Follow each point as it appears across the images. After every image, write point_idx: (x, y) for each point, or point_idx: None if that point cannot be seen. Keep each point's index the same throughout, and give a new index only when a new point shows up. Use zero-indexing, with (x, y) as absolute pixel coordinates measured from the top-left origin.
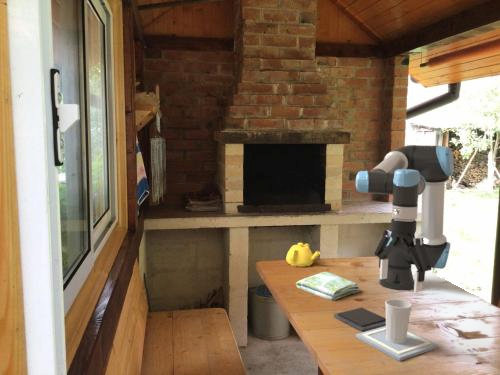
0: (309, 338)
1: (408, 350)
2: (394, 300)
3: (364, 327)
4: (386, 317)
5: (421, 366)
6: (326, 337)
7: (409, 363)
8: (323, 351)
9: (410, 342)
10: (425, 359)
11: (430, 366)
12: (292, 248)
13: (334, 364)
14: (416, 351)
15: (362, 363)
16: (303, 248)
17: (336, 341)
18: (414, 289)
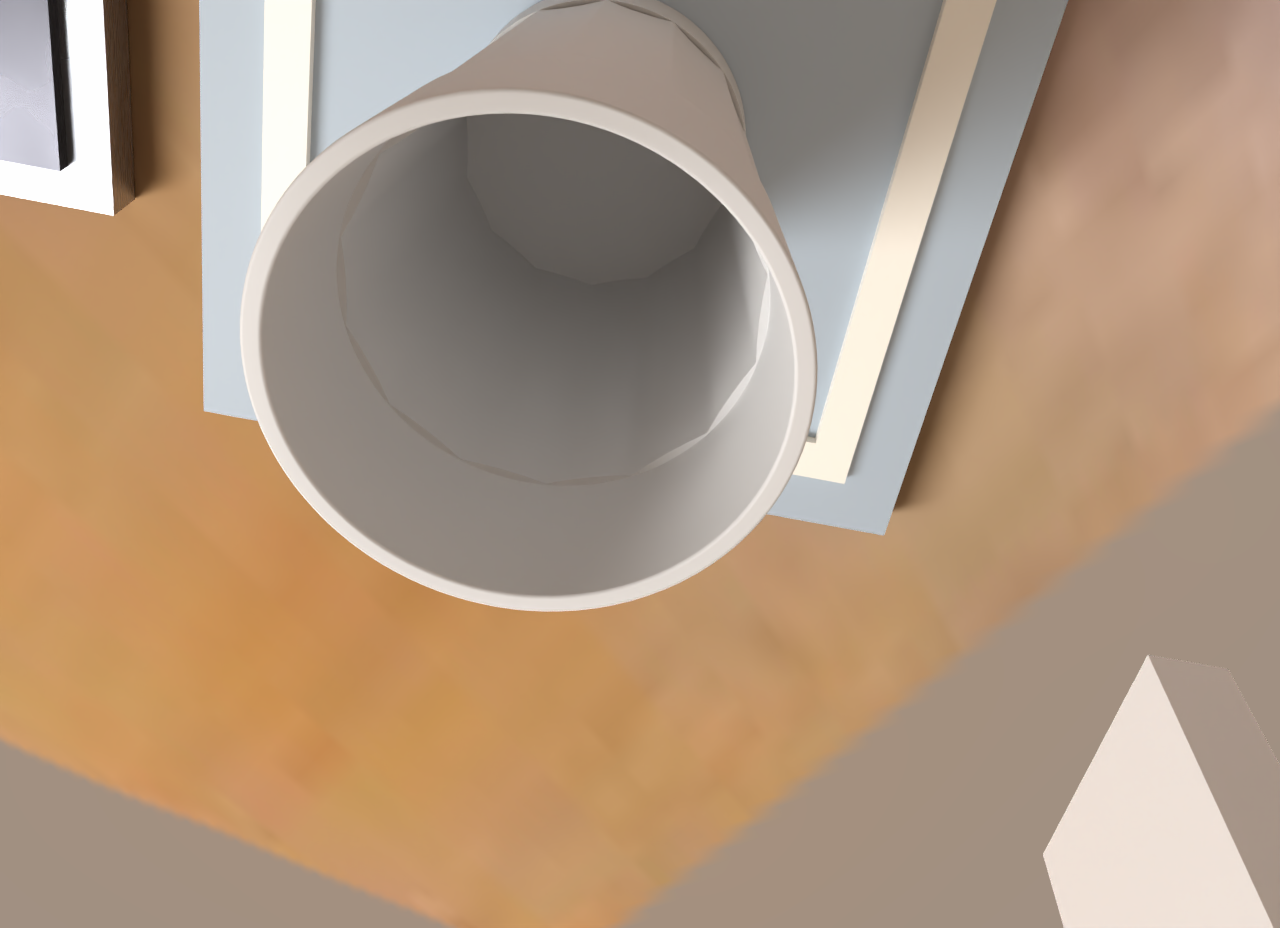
0: (17, 732)
1: (891, 335)
2: (315, 201)
3: (103, 162)
4: (440, 381)
5: (1109, 446)
6: (70, 612)
7: (981, 479)
8: (295, 820)
9: (792, 64)
10: (1094, 265)
11: (1193, 376)
12: None
13: (512, 905)
14: (968, 256)
15: (651, 765)
16: None
17: (195, 610)
18: (1077, 915)
